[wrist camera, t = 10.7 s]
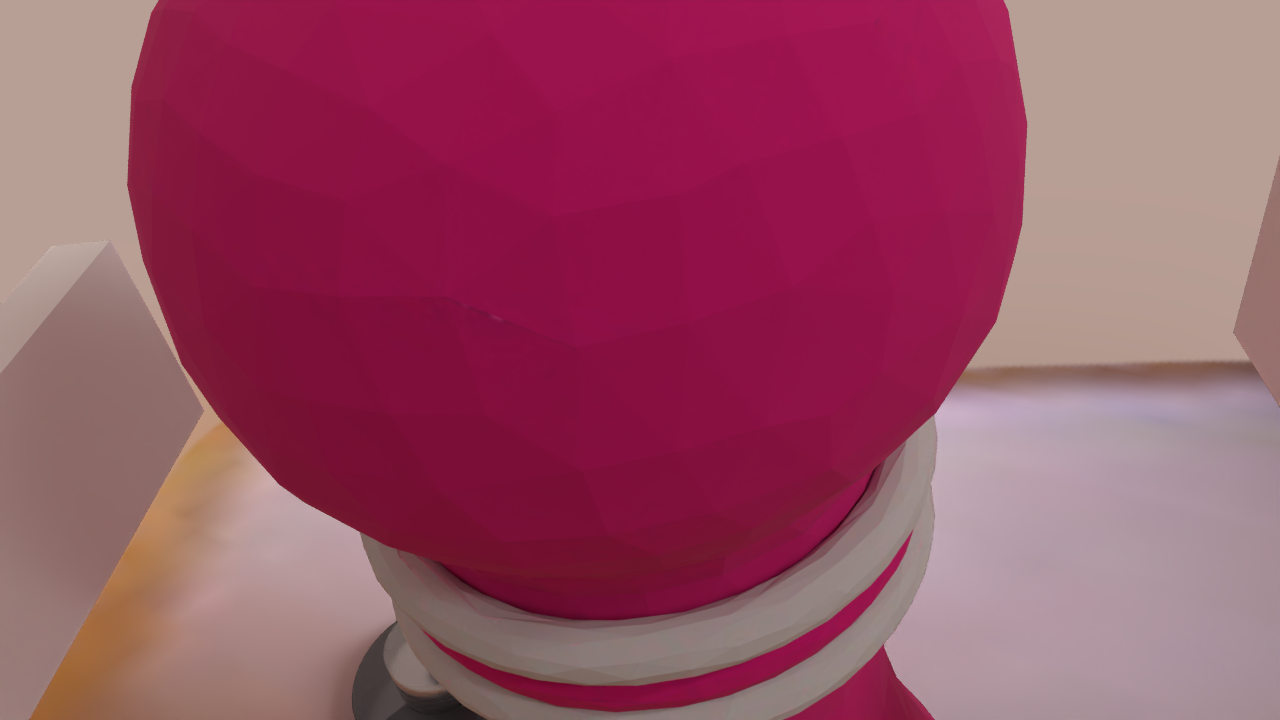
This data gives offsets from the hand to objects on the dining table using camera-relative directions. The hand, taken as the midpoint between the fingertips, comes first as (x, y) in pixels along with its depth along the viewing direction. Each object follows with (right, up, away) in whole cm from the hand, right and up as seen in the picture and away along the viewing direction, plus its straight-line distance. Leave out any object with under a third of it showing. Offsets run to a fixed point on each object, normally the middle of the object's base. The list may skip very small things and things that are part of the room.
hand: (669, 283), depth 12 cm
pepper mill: (+2, -12, +5) cm, 13 cm away
